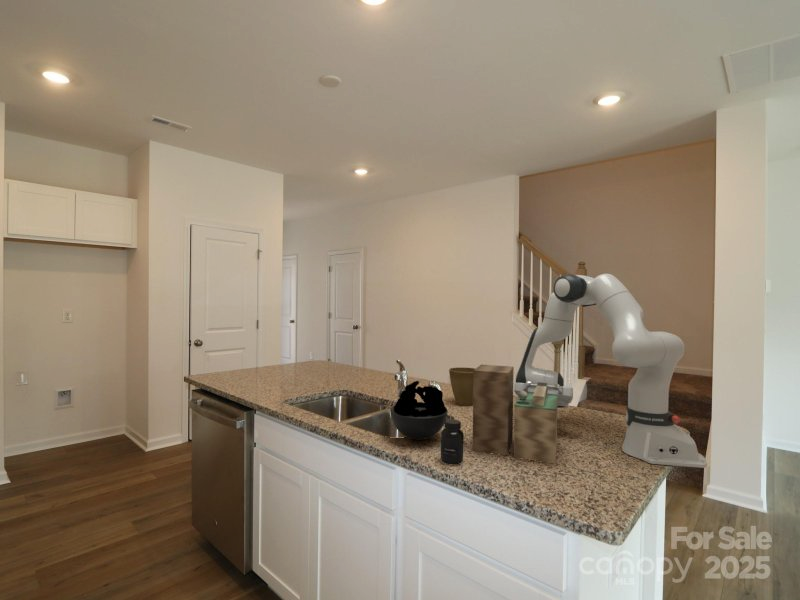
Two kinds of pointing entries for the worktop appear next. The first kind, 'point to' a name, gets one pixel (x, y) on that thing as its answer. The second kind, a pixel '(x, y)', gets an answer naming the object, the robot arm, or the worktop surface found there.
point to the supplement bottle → (452, 442)
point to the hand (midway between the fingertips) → (542, 384)
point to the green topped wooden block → (535, 428)
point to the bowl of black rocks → (419, 412)
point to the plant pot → (462, 385)
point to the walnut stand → (493, 409)
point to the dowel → (540, 395)
